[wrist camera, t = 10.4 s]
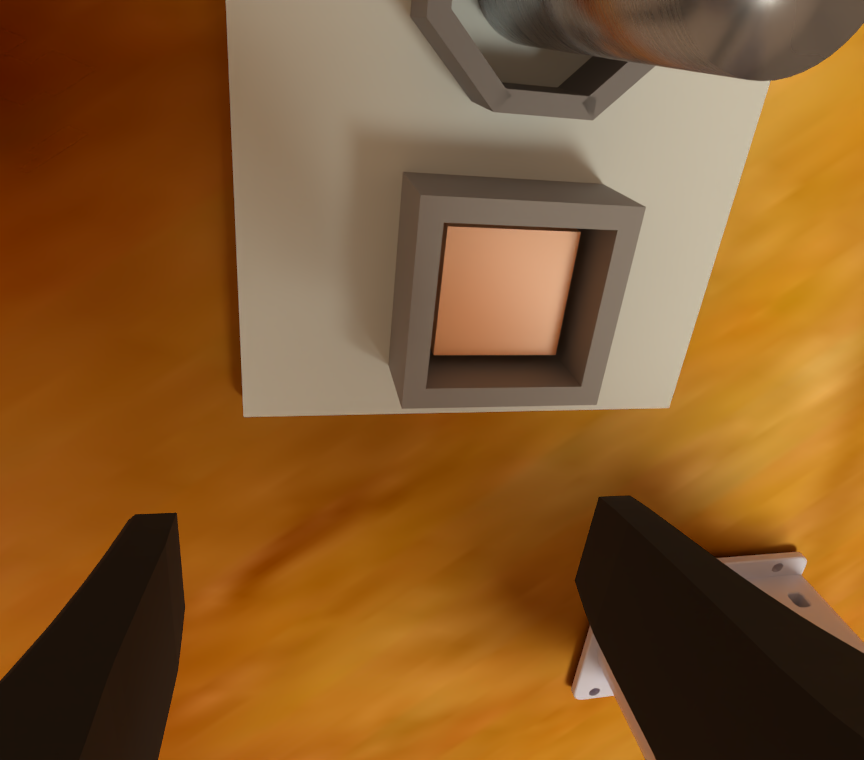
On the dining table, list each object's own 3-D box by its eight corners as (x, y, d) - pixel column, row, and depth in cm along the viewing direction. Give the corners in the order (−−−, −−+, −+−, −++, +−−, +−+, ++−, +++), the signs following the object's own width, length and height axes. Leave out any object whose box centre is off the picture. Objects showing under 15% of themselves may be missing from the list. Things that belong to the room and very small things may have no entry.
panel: (824, -184, 16) (951, -229, 13) (654, 393, 23) (709, 449, 20) (215, -312, 13) (195, -411, 10) (244, 399, 20) (239, 467, 17)
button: (563, 219, 18) (581, 231, 17) (541, 337, 20) (555, 354, 19) (438, 213, 18) (447, 226, 17) (425, 336, 19) (433, 355, 18)
